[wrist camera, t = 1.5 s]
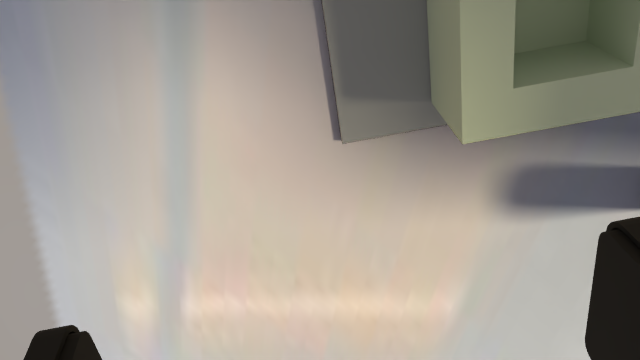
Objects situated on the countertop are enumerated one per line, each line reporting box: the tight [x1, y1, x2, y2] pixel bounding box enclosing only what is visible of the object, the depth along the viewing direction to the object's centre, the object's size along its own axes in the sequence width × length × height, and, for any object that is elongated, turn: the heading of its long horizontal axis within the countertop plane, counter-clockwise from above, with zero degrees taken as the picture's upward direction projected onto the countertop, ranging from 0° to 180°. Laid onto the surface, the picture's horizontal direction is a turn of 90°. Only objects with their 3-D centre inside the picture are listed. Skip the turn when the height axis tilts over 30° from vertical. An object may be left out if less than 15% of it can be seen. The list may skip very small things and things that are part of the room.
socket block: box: [427, 0, 640, 144], centre depth 26 cm, size 10×10×5 cm
